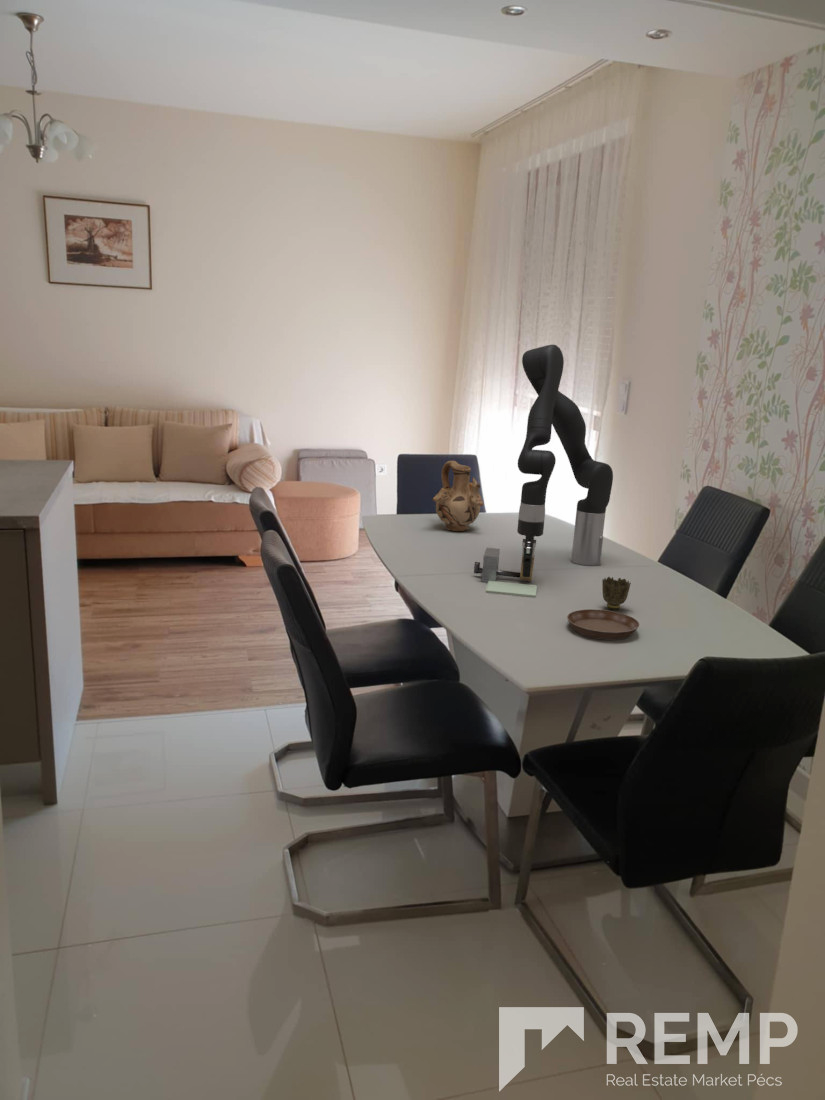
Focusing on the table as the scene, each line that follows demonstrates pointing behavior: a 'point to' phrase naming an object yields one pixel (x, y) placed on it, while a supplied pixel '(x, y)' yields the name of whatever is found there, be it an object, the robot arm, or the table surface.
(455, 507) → the ceramic vessel
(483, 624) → the table surface
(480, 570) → the wooden head mallet
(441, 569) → the table surface
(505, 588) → the mat
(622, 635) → the plant saucer
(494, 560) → the slotted metal block
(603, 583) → the cup
